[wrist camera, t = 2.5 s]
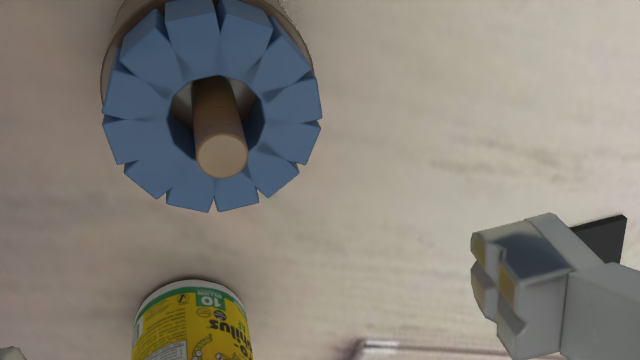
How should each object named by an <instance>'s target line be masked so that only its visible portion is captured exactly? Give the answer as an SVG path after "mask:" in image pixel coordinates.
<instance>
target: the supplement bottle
mask: <svg viewBox="0 0 640 360" xmlns="http://www.w3.org/2000/svg"><path fill="white" fill-rule="evenodd" d="M131 360H253V355H252V348H251V342H250V336H249V330H248V324H247V318H246V313H245V309H244V307H243V305H242V303H241V301H240V300H239V298H238V297H237V296H236V295H235V294H234V293H233V292H231V291H230V290H229V289H227V288H226V287H224V286H222V285H219V284H216V283H212V282H208V281H203V280H184V281H177V282H174V283H171V284H168V285H166V286H164V287H162V288H160V289H158V290H157V291H156V292H154V293H153V294H151V295H150V296H149V297H148V298H147V299H146V300H145V301H144V302H143V304H142V305H141V307H140V308H139V310H138V312H137V315H136V318H135V321H134V330H133V343H132V359H131Z"/></svg>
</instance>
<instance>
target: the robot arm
mask: <svg viewBox="0 0 640 360" xmlns="http://www.w3.org/2000/svg"><path fill="white" fill-rule="evenodd" d="M471 252H472V253H473V255H474V256H475V258H476V259H477V261H476V262H475V264H474V265H473V267H472V268H471V285H472V289H473V293H474V297H475V299H476V302H477V304H478V306H479V308H480V310H481V311H482V313H483V315H484V316H485V318H487V319H489V320H491V321H493V322H495V323H497V337H498V338H499V340H500V341H501V343H502V344H503V346H504V347H505V349H506V350H507V352H508V353H509V355H510V357H511V358H512V360H527V359H531V358H535V357H539V356H544V355H548V354H552V353H556V352H560V354H561V355H563V356H564V357H566V358H568V359H569V360H640V271H638V270H635V269H632V268H629V267H626V266H623V265H620V264H618V263H615V262H611V263H607V264H605V263H604V262H603V261H602V260H601V259H600V258H599V257H598V256H597V255H596V254H595V253H594V252H593V251H592V250H591V249H590V248H589V247H588V246H587V245H586V244H585V243H584V242H583V241H582V240H581V239H580V238H579V237H578V236H577V235H576V234H574V233H573V232H572V231H571V230H570V229H569V228H568V227H567V226H566V225H565V224H564V223H563V222H562V221H561V220H560V219H559V218H558V217H557V216H556V215H555V214H552V213H550V212H549V213H545V214H542V215H538V216H534V217H530V218H527V219H524V220H522V221H518V222H514V223H510V224H506V225H502V226H498V227H494V228H490V229H486V230H482V231H478V232H474V233H473V234H472V237H471ZM0 360H27V359H26V357H25V356H24V354H23V353H22V351H21V350H20V348H18V347H13V346H11V347H7V348H2V349H0Z"/></svg>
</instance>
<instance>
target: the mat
mask: <svg viewBox="0 0 640 360" xmlns="http://www.w3.org/2000/svg"><path fill="white" fill-rule="evenodd" d="M626 223H627V218H626V217H625V216H623V215H620V216H616V217H613V218H609V219H605V220H601V221H597V222H593V223H589V224H586V225H582V226H578V227H574V228H570V230H571V231H572V232H573V233H574V234H576V235H577V236H578V237H579V238H580V239H581V240H582V241H583V242H584V243H585V244H586V245H587V246H588V247H589V248H590V249H591V250H592V251H593V252H594V253H595V254H596V255H597V256H598V257H599V258H600V259H601V260H602V261H603V262H604V263H605V264H607V263H611V262H615V263H618V264H620V259H621V253H622V247H623V241H624V235H625V229H626Z"/></svg>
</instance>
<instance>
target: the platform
mask: <svg viewBox="0 0 640 360" xmlns="http://www.w3.org/2000/svg"><path fill="white" fill-rule="evenodd" d="M170 1H175V0H125V2H124V3H123V5H122V6H121V8H120V10H119V12H118V14H117V16H116V19H115V22H114V25H113V29H112V32H111V36H110V39H109V43H108V46H107V50H106V53H105V57H104V60H103V64H102V70H101V78H100V91H101V99H102V105H103V103H104V99H105V95H106V91H107V87H108V83H109V79H110V75H111V70H112V66H113V62H114V58H115V54H116V50H117V48H118V47H122V43H123V38H124V36H125V35H126V34H127V33H128V32H129V31H131V30H132V29H133V28H134V27H135V26H136V25H137V24H138V23H139V22H140V21H141V20H142V19H144V18H145V17H146V16H147V15H148V14H149V13H150V12H151V11H152V10H153V9H158V10H159V11H160V12H161V13H162V14H163V15H164V17H165V3H166V2H170ZM212 1H213V5H214V8H215V12H216V8H217V5H218V2H219V0H212ZM238 1H241V2H244V3H247V4H250V5H253V6H256V7H259V8H262V9H263V10H264V12H265V14H266V15H267V17H268V18H269V17H270V16H273V17H274V18H275V19H276V20H277V21H278V22H279V24H280V25H281V26H282V27H283V28H284V30H285V31H286V32H287V33H288V34H289V35H290V37H291V38H292V39H293V40H294V41H295V42H296V44H297V45H298V46H299V48H300V49H301V51H302V53H303V54H304V56H305V58H306V59H307V61H308V62H309V64H310V66H311V70H312V72H313V74H314V69H313V64H312V60H311V57H310V54H309V51H308V49H307V46H306V44H305V43H304V41H303V39H302V37H301V35H300V34H299V32H298V31H297V29H296V27H295V26H294V24H293V23H292V21H291V20H290V18H289V17H288V15H287V14H286V12H285V11H284V9H283V8H282V6H281V5H280V3H279V2H278V1H277V0H238ZM255 98H256V95H255V94H254V93H253V92H252V91H251V90H250V89H249V88H248V86H247V85H246V84H245V83H244V82H241V81H237V80H234V79H231V78H227V77H224V76H221V75H216V76H211V77H206V78H202V79H197V80H192V81H191V82H190V83H189V84H188V85H186V86H185V87H184V88H183V89H182V90H181V91H180V92H178V93H177V94H176V95H175V96H174V97H173V101H172V104H171V109H172V112H173V115H174V116H175V117H176V118H177V119H178V120H180V121H181V122H182V123H183V124H184V125H185V126H186V127H187V128H188V129H189V130H193V131H194V140H195V151H196V160H197V164H198V166H199V167H200V169H201V170H202V171H203V172H204V173H206V174H207V175H209V176H211V177H214V178H220V179H223V178H229V177H232V176H235V175H236V174H238V173H239V172H240V171H242V169H243V168H244V167H245V165H246V164H247V161H248V157H249V152H248V147H247V143H246V139H245V135H244V131H243V127H242V122H243V121H244V120H245V119H247V118H248V117H249V115H250V112H251V110H252V107H253V104H254V101H255Z"/></svg>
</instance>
